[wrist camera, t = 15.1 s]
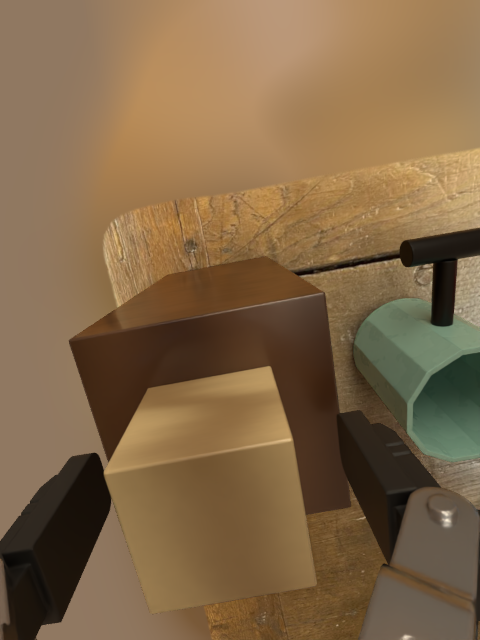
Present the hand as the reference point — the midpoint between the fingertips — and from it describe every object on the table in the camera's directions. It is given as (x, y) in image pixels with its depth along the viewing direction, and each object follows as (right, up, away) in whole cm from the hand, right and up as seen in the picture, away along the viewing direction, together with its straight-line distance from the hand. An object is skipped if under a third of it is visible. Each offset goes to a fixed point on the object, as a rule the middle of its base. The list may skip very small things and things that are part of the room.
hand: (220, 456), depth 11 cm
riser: (-1, +5, +20) cm, 20 cm away
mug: (+15, +5, +19) cm, 25 cm away
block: (0, 0, +1) cm, 1 cm away
